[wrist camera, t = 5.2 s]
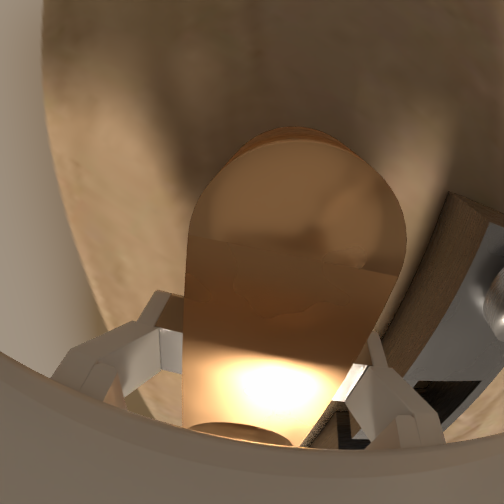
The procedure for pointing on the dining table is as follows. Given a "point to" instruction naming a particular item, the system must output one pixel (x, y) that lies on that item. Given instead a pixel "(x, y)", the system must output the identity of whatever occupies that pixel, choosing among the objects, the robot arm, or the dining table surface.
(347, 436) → the chain end outer
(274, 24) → the dining table surface
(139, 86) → the dining table surface
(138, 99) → the dining table surface
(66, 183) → the dining table surface
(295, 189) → the tan rounded block
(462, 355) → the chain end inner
